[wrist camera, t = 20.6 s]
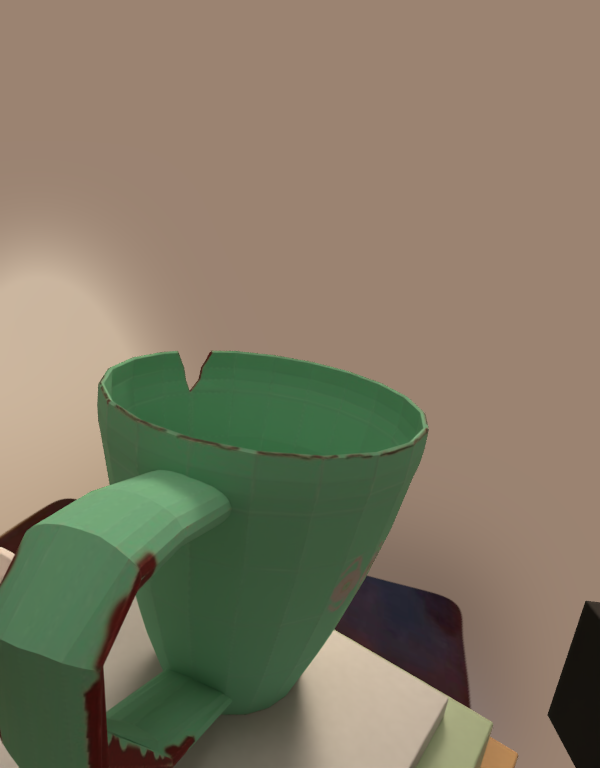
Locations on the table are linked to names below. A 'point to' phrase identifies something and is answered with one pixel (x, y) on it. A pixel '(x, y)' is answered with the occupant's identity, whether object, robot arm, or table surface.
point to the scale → (318, 714)
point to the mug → (200, 552)
